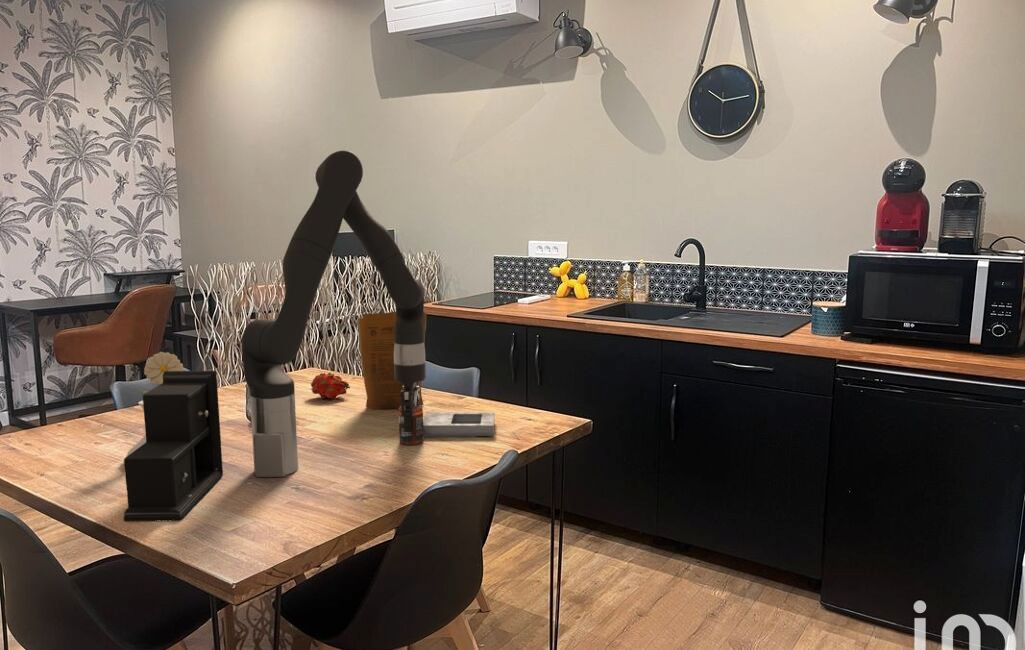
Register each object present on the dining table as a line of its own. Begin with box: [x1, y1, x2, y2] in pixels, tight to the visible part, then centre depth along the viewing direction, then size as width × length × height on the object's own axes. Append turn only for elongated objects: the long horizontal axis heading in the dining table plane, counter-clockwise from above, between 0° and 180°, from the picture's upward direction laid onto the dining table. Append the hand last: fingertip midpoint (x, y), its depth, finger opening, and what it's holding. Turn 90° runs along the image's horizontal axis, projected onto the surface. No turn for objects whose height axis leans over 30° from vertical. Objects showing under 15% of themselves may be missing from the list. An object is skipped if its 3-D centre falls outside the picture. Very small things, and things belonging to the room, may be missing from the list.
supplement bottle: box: [397, 397, 425, 446], centre depth 186 cm, size 6×6×11 cm
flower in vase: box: [126, 351, 184, 457], centre depth 172 cm, size 13×11×25 cm
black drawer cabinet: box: [123, 370, 224, 522], centre depth 150 cm, size 23×11×24 cm, turn 2°
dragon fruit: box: [310, 372, 351, 400], centre depth 229 cm, size 8×8×12 cm
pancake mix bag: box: [357, 311, 427, 410], centre depth 216 cm, size 7×19×28 cm, turn 96°
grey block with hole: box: [423, 411, 496, 438], centre depth 197 cm, size 12×18×3 cm, turn 90°
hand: (411, 426), depth 186 cm, fingers open, 7 cm apart
